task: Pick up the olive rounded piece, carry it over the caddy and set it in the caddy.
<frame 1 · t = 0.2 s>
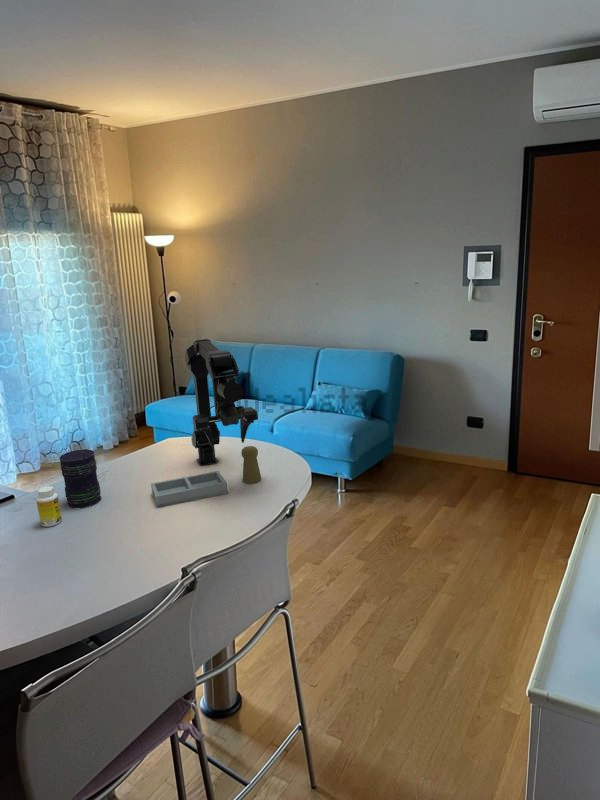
hand: (227, 444, 175), 14 cm above the table, tool pointing down, fingers open, 9 cm apart
olive rounded piece: (252, 480, 184), on the table
storage jar: (84, 502, 176), on the table
caddy: (189, 493, 176), on the table
supplement bottle: (51, 523, 162), on the table
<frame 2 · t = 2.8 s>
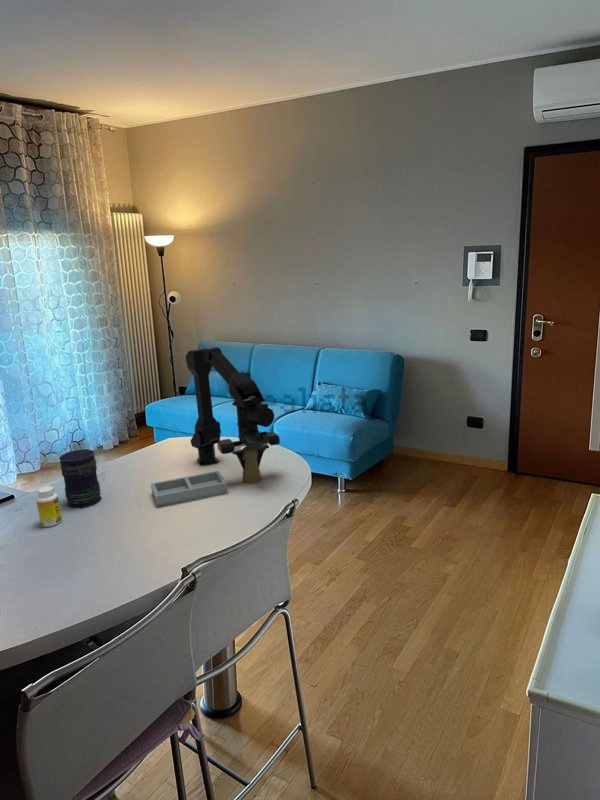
hand: (250, 468, 183), 4 cm above the table, tool pointing down, fingers closed on olive rounded piece, 4 cm apart
olive rounded piece: (252, 480, 184), on the table, touching gripper
everything else where it was.
when the fingers open (6 cm above the table, at t = 9.2 s): olive rounded piece drops 1 cm, resting on caddy.
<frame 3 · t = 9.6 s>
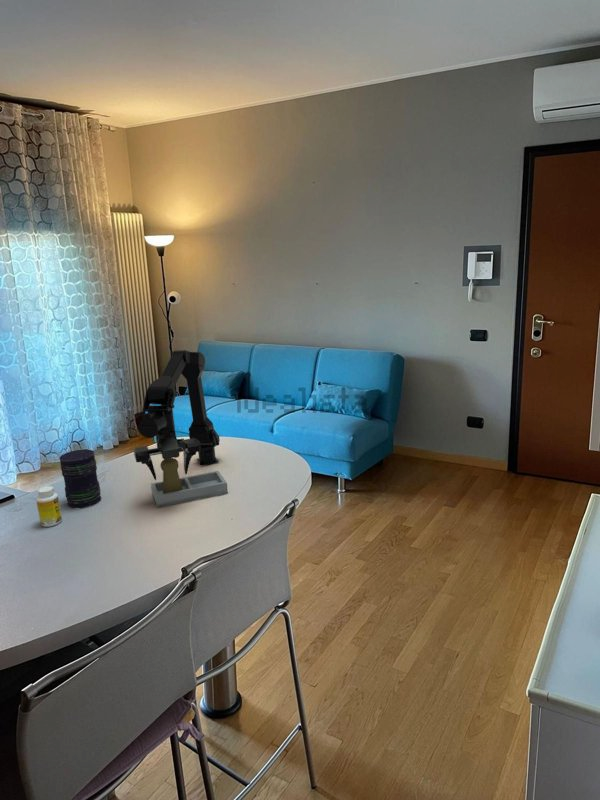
hand: (170, 476, 173), 6 cm above the table, tool pointing down, fingers open, 9 cm apart
olive rounded piece: (173, 494, 175), point 1 cm above the table, touching caddy
everything else where it was.
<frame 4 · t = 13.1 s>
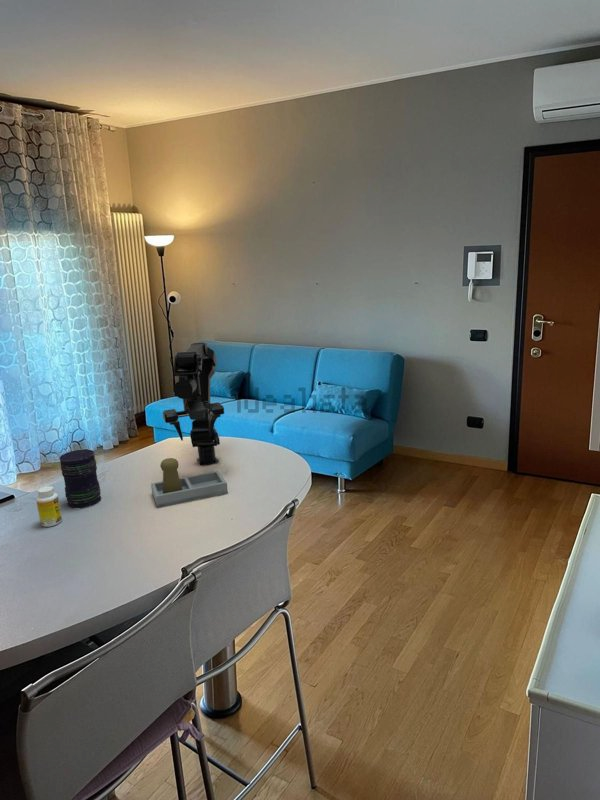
hand: (196, 438, 187), 13 cm above the table, tool pointing down, fingers open, 9 cm apart
nothing on the table moved.
at the end: olive rounded piece 0.1 cm from the target spot on the caddy, point 0.8 cm above the caddy's base; olive rounded piece tilted 0°; the gripper is holding nothing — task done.
